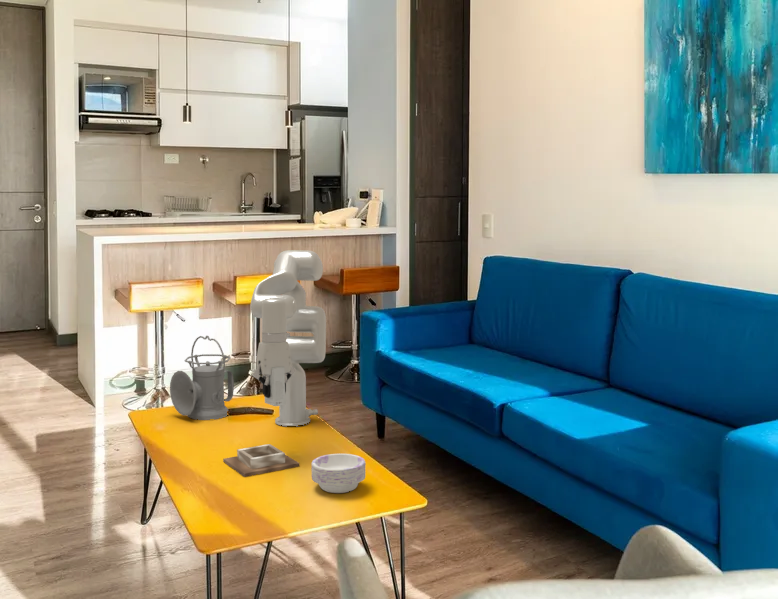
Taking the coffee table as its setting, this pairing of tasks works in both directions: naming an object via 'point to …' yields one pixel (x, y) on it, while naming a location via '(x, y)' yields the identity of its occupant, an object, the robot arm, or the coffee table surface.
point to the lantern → (202, 388)
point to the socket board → (260, 460)
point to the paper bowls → (338, 472)
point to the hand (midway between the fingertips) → (274, 395)
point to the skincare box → (277, 387)
